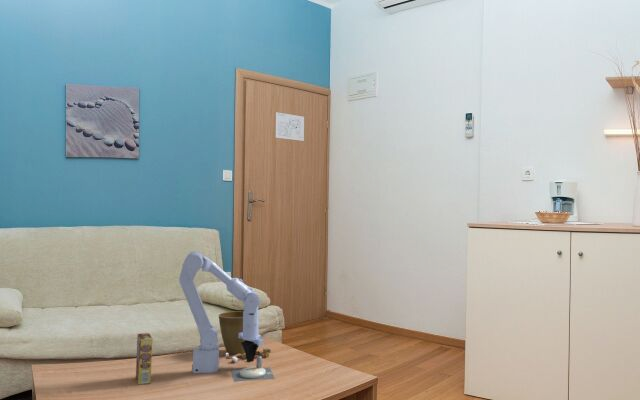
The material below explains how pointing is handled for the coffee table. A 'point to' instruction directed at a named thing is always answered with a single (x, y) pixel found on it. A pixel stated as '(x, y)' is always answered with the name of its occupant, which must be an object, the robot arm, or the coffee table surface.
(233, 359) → the character figurine
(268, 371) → the stand plate
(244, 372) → the dial
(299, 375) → the coffee table surface
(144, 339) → the candy box
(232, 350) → the plant pot
